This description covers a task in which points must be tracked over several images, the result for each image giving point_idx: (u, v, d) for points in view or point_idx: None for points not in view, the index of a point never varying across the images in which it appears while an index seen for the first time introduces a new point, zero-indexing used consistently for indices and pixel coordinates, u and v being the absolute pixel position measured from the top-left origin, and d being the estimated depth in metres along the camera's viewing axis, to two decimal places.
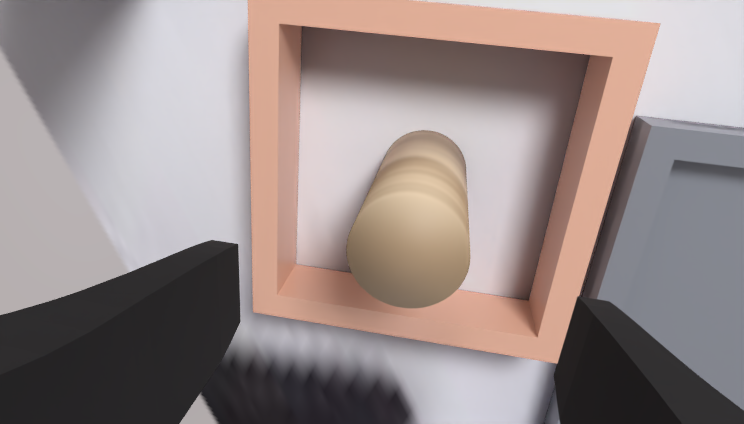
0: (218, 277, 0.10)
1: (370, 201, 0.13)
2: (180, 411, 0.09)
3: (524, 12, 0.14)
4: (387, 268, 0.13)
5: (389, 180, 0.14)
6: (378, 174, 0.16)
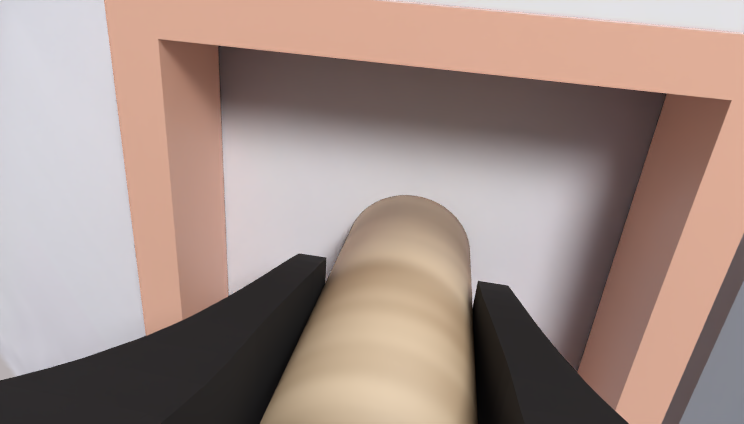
0: (313, 292, 0.10)
1: (290, 383, 0.07)
2: None
3: (575, 21, 0.08)
4: None
5: (333, 326, 0.08)
6: (326, 287, 0.10)
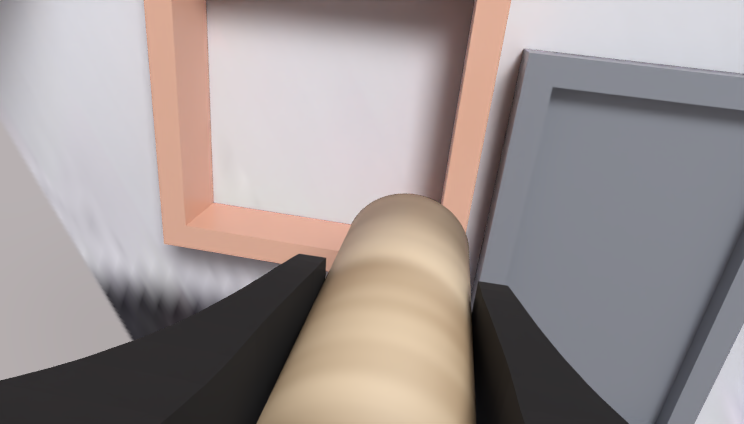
0: (313, 292, 0.10)
1: (288, 380, 0.07)
2: None
3: None
4: None
5: (331, 324, 0.08)
6: (325, 285, 0.10)
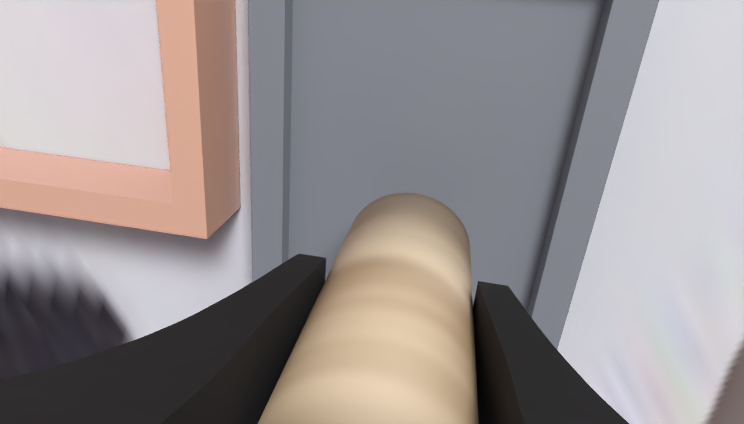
0: (313, 292, 0.10)
1: (290, 379, 0.07)
2: None
3: None
4: None
5: (333, 323, 0.08)
6: (326, 284, 0.09)
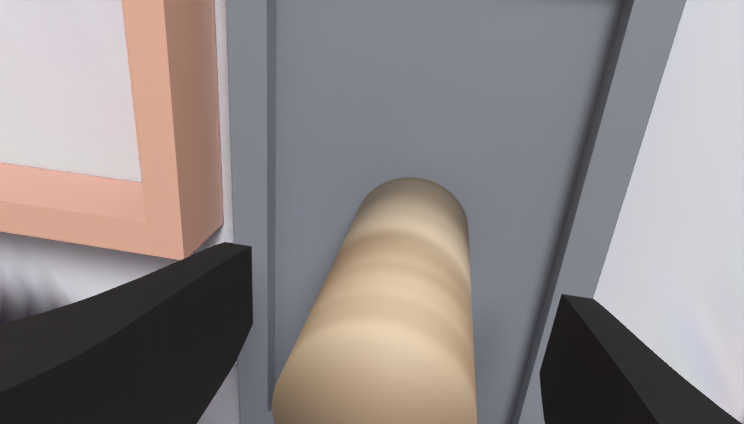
0: (233, 279, 0.10)
1: (312, 329, 0.08)
2: (195, 414, 0.09)
3: None
4: None
5: (347, 284, 0.09)
6: (338, 255, 0.11)
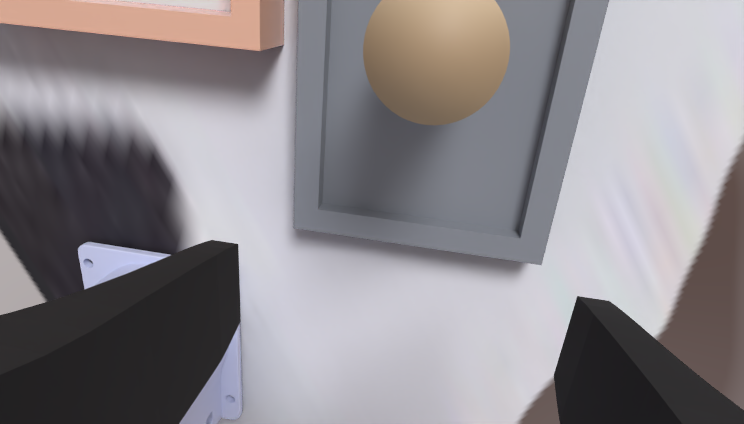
0: (218, 277, 0.10)
1: None
2: (180, 411, 0.09)
3: None
4: (410, 72, 0.11)
5: None
6: None
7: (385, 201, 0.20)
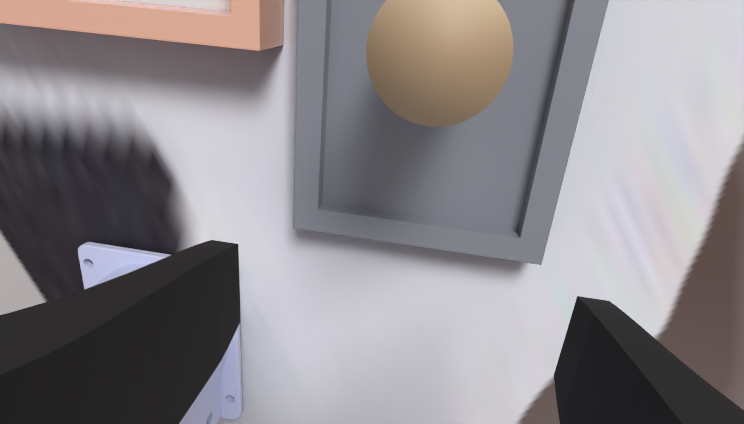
0: (218, 277, 0.10)
1: None
2: (180, 411, 0.09)
3: None
4: (413, 73, 0.11)
5: None
6: None
7: (385, 201, 0.20)
